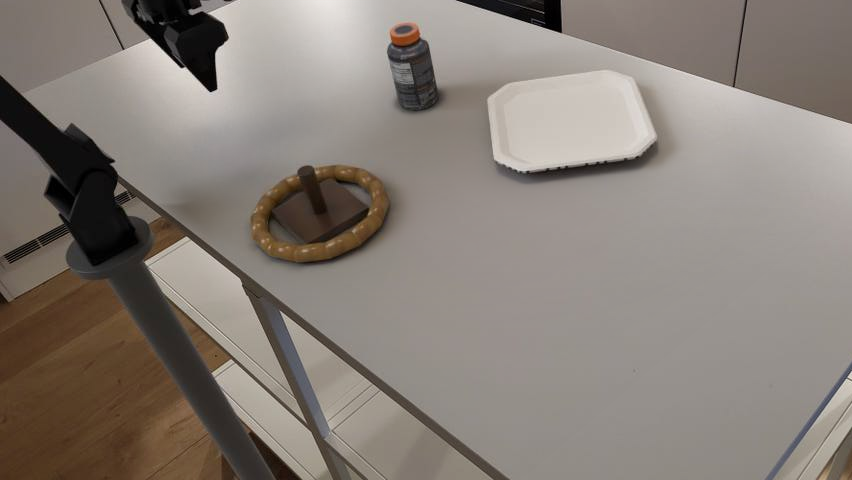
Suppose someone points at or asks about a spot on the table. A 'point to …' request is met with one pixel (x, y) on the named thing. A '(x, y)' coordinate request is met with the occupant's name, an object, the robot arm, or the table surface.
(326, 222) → the wooden peg stand
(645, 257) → the table surface
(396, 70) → the pill bottle
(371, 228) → the ring
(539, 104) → the plate
